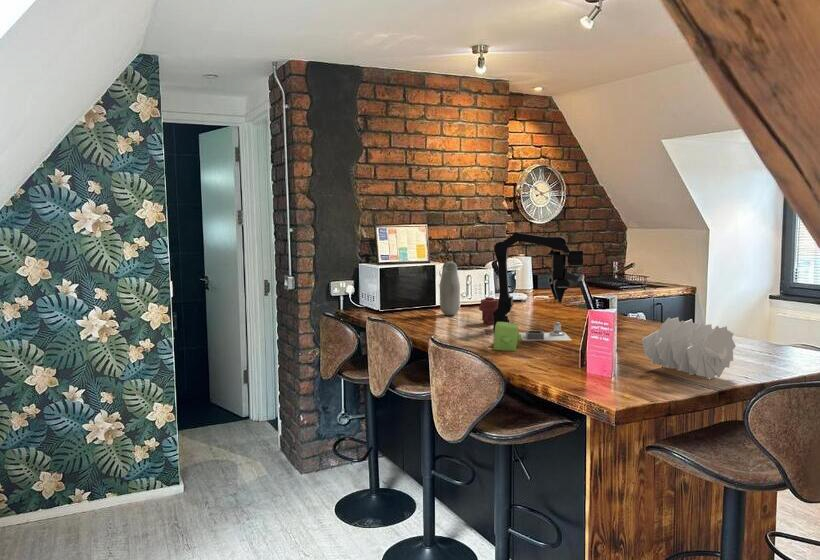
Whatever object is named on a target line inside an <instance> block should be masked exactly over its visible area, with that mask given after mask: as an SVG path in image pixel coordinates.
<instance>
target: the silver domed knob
mask: <svg viewBox="0 0 820 560" xmlns="http://www.w3.org/2000/svg"><path fill="white" fill-rule="evenodd" d="M549 333H550V335H553V336H564V335H565V333H566V332H564V331H562V324H561V322H560V321H555V322H554V324H553V330H552V331H549Z"/></svg>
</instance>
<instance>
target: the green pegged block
mask: <svg viewBox="0 0 820 560" xmlns="http://www.w3.org/2000/svg"><path fill="white" fill-rule="evenodd" d="M518 327H519V324H518V323H517V322H516V323H515V322H510V321H509V322H497V323H496V325H495V330H494V342H493V350H495V351H509V352H511V351H513V352H516V351H517V346H518V345H517V344H518V341H521V340H522V338H521V334H519V331H518Z"/></svg>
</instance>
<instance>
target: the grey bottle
mask: <svg viewBox="0 0 820 560" xmlns="http://www.w3.org/2000/svg"><path fill="white" fill-rule="evenodd" d="M440 277H441V278H440V281H439V307H440V308H439V309H440V310H441V313H442V314H443V315H445V316H449V317H451V316H454V315H457V314H458V312H459V310H460V306H461V305H460V303H461V299H460V297H461V283H460V278H459V272H458V265H457V264H456V262H454V261H450V260H448V261H445V262H444V263H443V265H442V271H441V275H440Z"/></svg>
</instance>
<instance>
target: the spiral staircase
mask: <svg viewBox="0 0 820 560" xmlns="http://www.w3.org/2000/svg"><path fill="white" fill-rule="evenodd" d="M693 321H694V320H693V319H692V318H691V319H689V320H685V321H684V320H680V319H679V317H674V318H671V317H668V318H667V319H666V320H665V321H664V322H663V323H662V324H660V327H659V330H656V331H654V332H652V333H651V334H649V335H647V336H645V337H643V338H642V339H641V343H642V346H643V351H644V353H643V354H645V356H646V358H648V359H649V360H650V363H651V365H656V366H657V365H658V366H661V368H662V367H663V368H665V367H666V369H676V370H677V372H680V371H681V372H684V373H688V374H689V376H690V375H692V376H694V375H696V376H699V377H705V378H706V380H707V379H709V378H711V379H713V378H714V377H716V376H717V377H718V378H720V377H721V376H722V374H723V372H724V370H725V368H727V369H730V364H731V362H734V349H735V348H736V347H737V346H736V344H735V342H734V339H733V337H734V332H732V331H731V330H728V326H727V325H724V326H720V327H719V325H716V326H715V327H714V328H713V327H712V325H713V324H711V323H710V324H704V323H703V322H700V323H699V324H697V323H695V322H693ZM709 380H710V379H709Z"/></svg>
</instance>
